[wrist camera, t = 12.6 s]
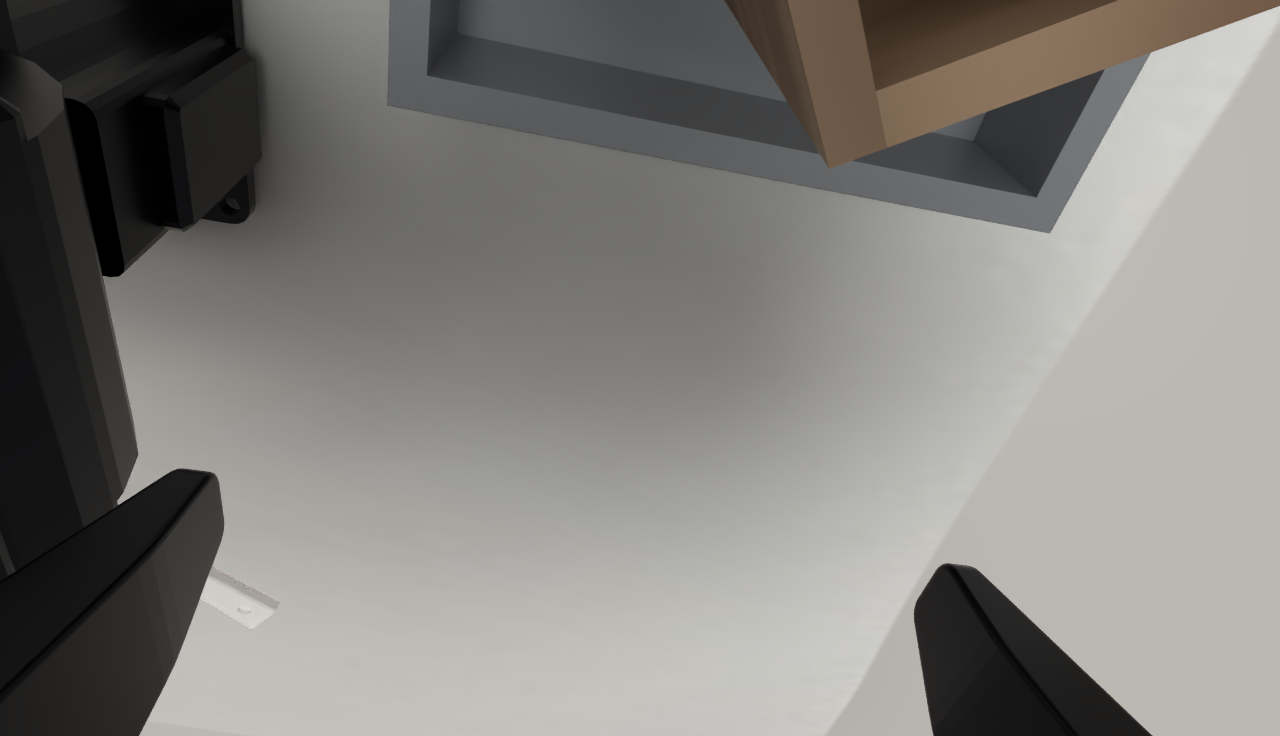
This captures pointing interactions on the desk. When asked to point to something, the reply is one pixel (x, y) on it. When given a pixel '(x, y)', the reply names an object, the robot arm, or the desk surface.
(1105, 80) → the tray
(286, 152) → the desk surface
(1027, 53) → the walnut crate
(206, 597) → the white angle bracket
